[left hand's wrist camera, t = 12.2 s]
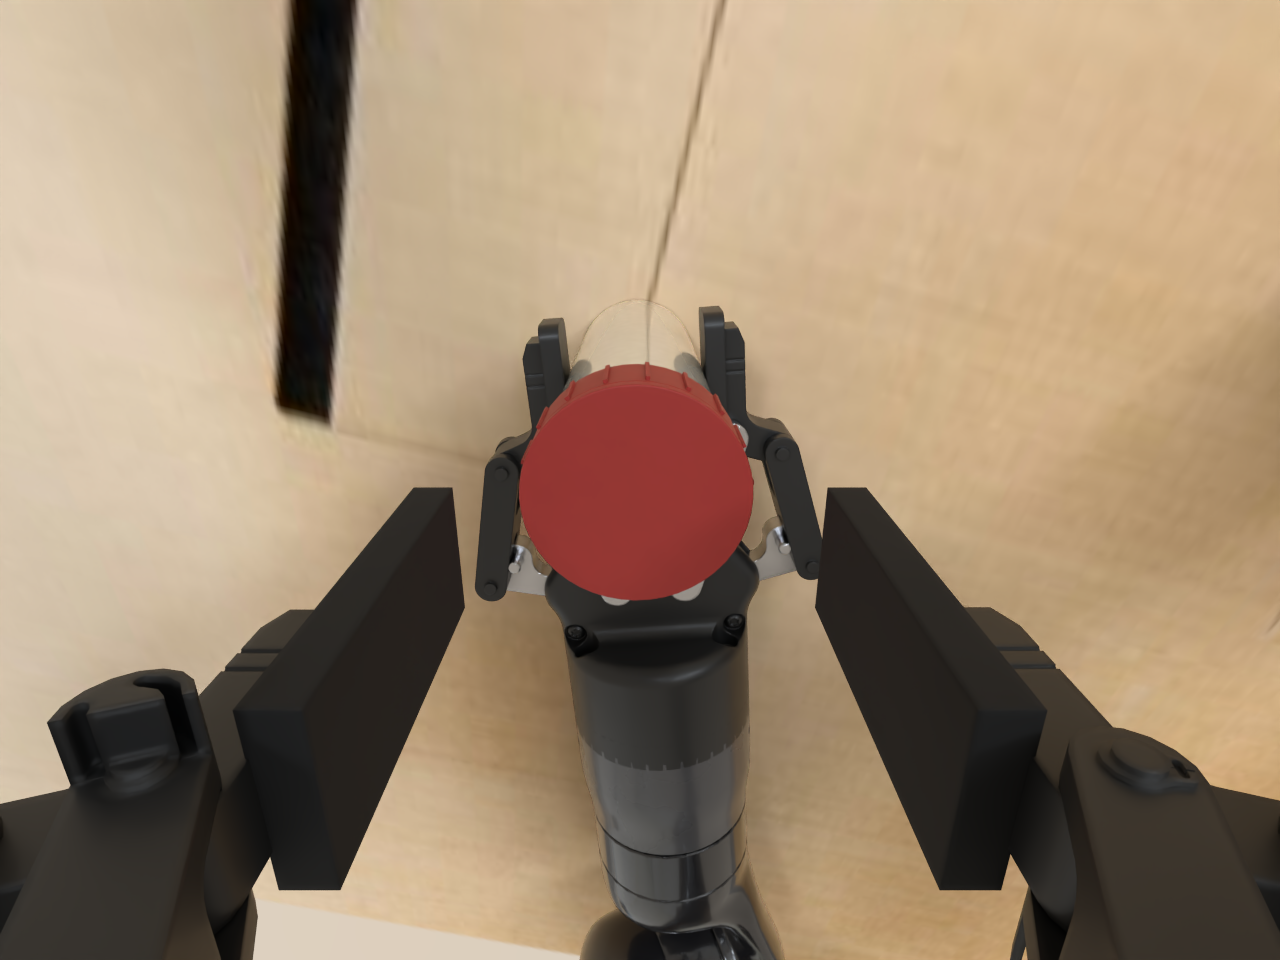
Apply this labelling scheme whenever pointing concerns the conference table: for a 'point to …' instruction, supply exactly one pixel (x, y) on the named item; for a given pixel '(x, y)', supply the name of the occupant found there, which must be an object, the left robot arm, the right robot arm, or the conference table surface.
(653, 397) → the lid
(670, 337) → the jar
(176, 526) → the conference table surface
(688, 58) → the conference table surface
